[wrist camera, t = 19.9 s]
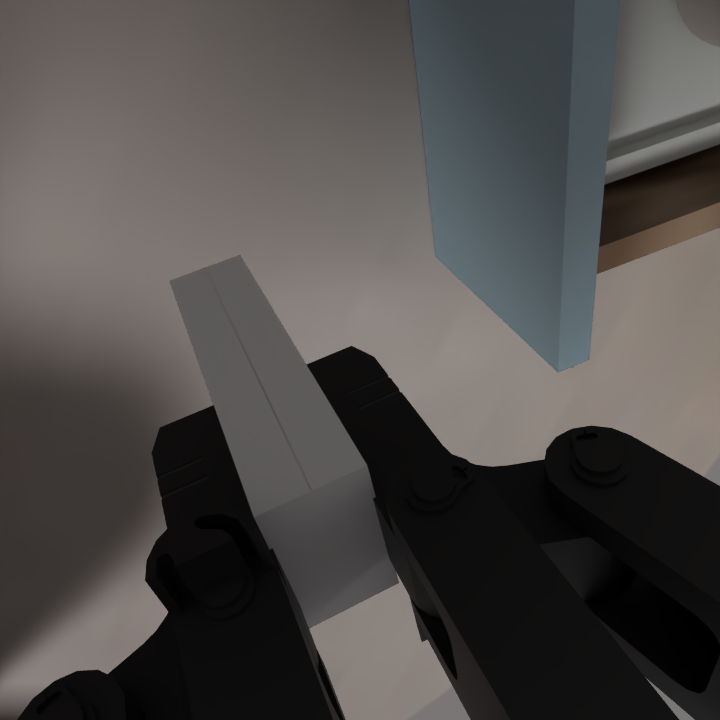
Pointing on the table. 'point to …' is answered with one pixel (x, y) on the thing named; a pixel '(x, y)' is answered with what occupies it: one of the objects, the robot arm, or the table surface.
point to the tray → (549, 141)
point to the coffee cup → (702, 18)
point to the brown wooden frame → (659, 208)
